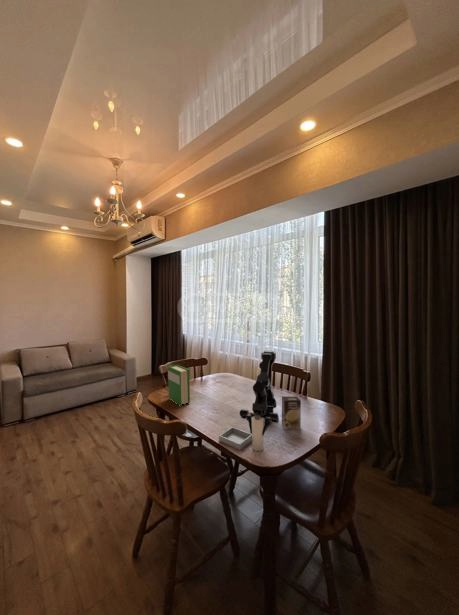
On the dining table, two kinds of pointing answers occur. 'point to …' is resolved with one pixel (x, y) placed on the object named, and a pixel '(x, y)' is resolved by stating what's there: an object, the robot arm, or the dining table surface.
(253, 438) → the cream bottle
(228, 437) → the tray
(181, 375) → the hardback book
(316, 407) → the dining table surface
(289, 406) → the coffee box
